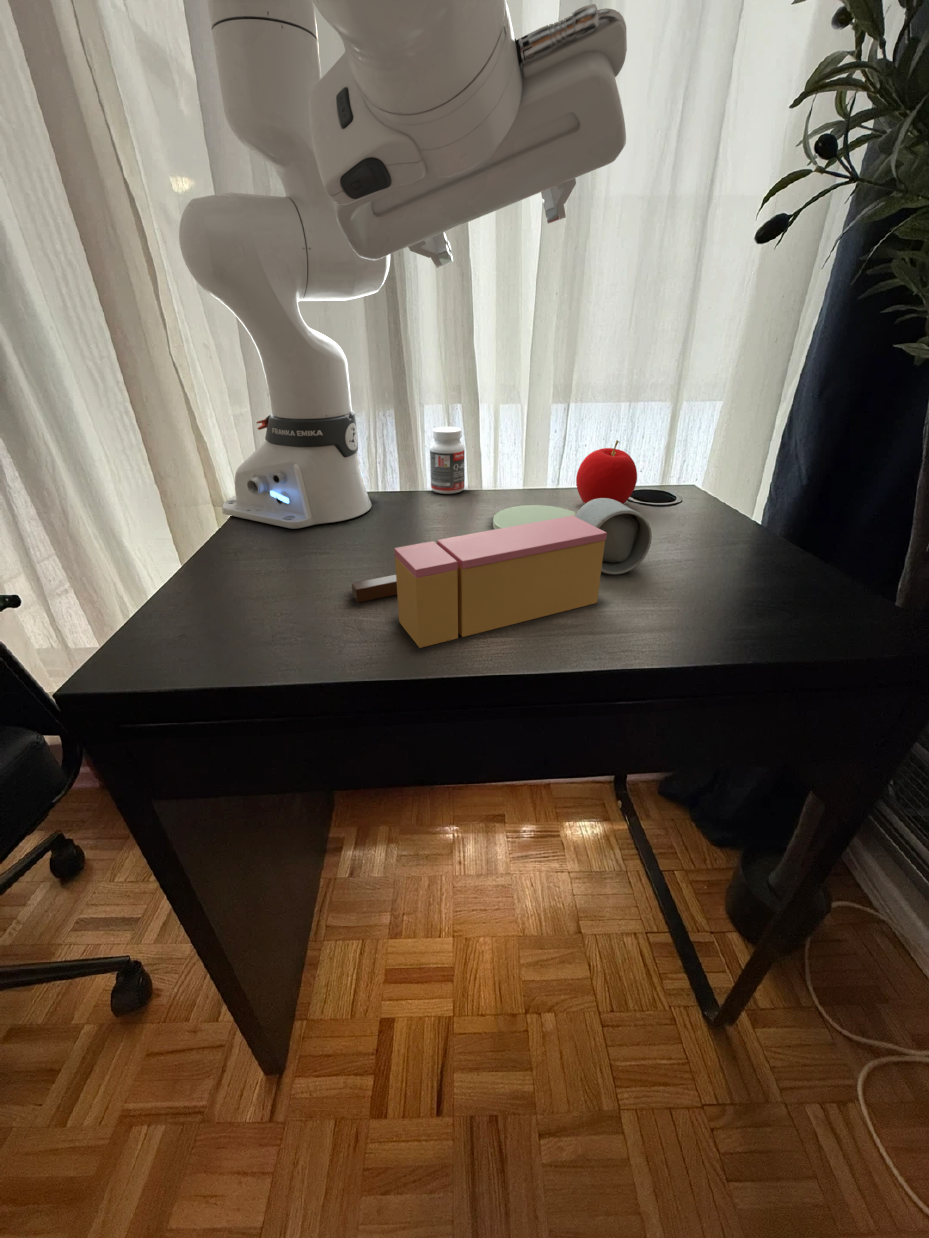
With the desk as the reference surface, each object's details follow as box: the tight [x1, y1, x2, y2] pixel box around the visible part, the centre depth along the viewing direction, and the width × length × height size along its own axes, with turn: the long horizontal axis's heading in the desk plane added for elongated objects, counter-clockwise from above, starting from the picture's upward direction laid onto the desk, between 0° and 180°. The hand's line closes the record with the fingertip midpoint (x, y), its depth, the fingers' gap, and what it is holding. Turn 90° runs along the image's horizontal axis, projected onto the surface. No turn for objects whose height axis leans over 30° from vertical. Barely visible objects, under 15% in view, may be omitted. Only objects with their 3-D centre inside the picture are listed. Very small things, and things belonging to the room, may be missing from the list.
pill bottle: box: [429, 426, 466, 495], centre depth 94 cm, size 6×6×10 cm
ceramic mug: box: [575, 498, 653, 575], centre depth 68 cm, size 11×8×8 cm
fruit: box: [575, 439, 638, 505], centre depth 86 cm, size 9×9×10 cm
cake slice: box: [393, 540, 459, 649], centre depth 54 cm, size 4×6×8 cm
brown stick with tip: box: [351, 574, 397, 604], centre depth 65 cm, size 20×2×2 cm, turn 116°
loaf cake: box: [436, 516, 607, 638], centre depth 58 cm, size 16×6×8 cm, turn 116°
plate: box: [492, 504, 577, 530], centre depth 81 cm, size 13×13×1 cm
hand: (498, 236), depth 46 cm, fingers open, 8 cm apart
